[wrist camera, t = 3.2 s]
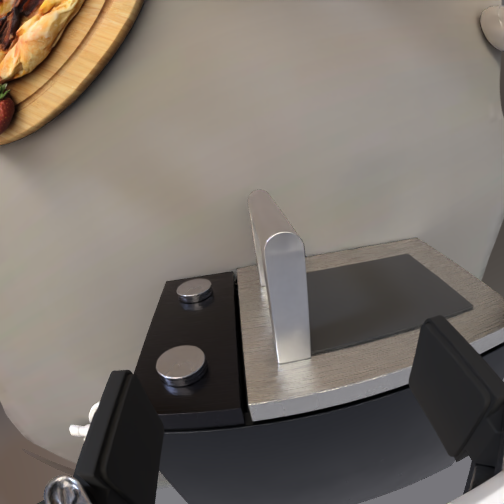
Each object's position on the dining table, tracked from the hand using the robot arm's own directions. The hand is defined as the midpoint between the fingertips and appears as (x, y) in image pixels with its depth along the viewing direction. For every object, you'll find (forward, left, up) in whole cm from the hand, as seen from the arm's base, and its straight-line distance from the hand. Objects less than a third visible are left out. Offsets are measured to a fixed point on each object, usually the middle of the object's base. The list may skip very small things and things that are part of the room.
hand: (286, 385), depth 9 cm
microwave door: (+8, -2, -22) cm, 23 cm away
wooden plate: (-21, +29, -22) cm, 42 cm away
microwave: (+5, -16, -22) cm, 27 cm away
